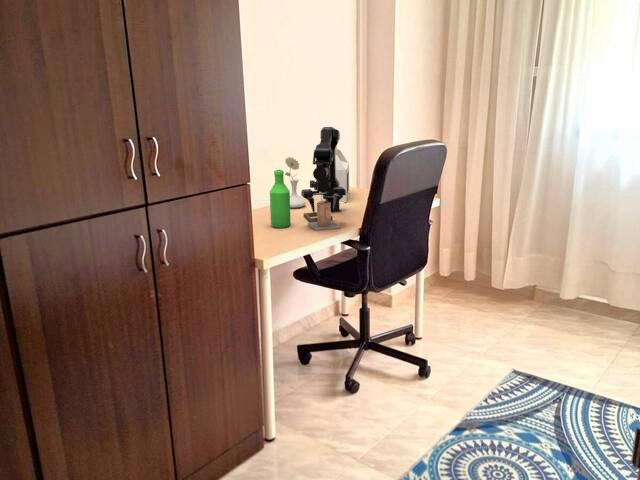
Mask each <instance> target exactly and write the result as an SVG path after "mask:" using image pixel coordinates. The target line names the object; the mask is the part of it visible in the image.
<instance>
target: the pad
mask: <svg viewBox="0 0 640 480" xmlns="http://www.w3.org/2000/svg"><path fill="white" fill-rule="evenodd" d="M307 225H308V226H309V227H310V229H312V230H313V232H319V231H320V232H321V231H330V230H332V231H333V230H341V229H342V227H341V225H339V224H338V223H337V222H335V221H334V220H333V221H331V225H330V226H328V227H320V226H317V222H311V223H309V222H307Z"/></svg>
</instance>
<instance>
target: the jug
mask: <svg viewBox="0 0 640 480" xmlns="http://www.w3.org/2000/svg"><path fill="white" fill-rule="evenodd" d="M316 212H317V216H316V217H317V226H320V227H328V226H330V225H331V216H332V212H331V203H330V202H327V201H321V200H320V201H317V202H316Z"/></svg>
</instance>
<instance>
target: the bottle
mask: <svg viewBox="0 0 640 480" xmlns="http://www.w3.org/2000/svg"><path fill="white" fill-rule="evenodd" d="M273 175H274V184H273V185H272V187H271V189H270V190H269V206H270V210H269V211H270V225H271V226H272V227H273V228H275V229H277V228H278V229H283V228H288V227H290V225H291V207H290V196H291V192H290V190H289V188H288V186H287V185H286V184H285V182H284V175H285V171H284V170H283V169H275V170H274V172H273Z"/></svg>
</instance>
